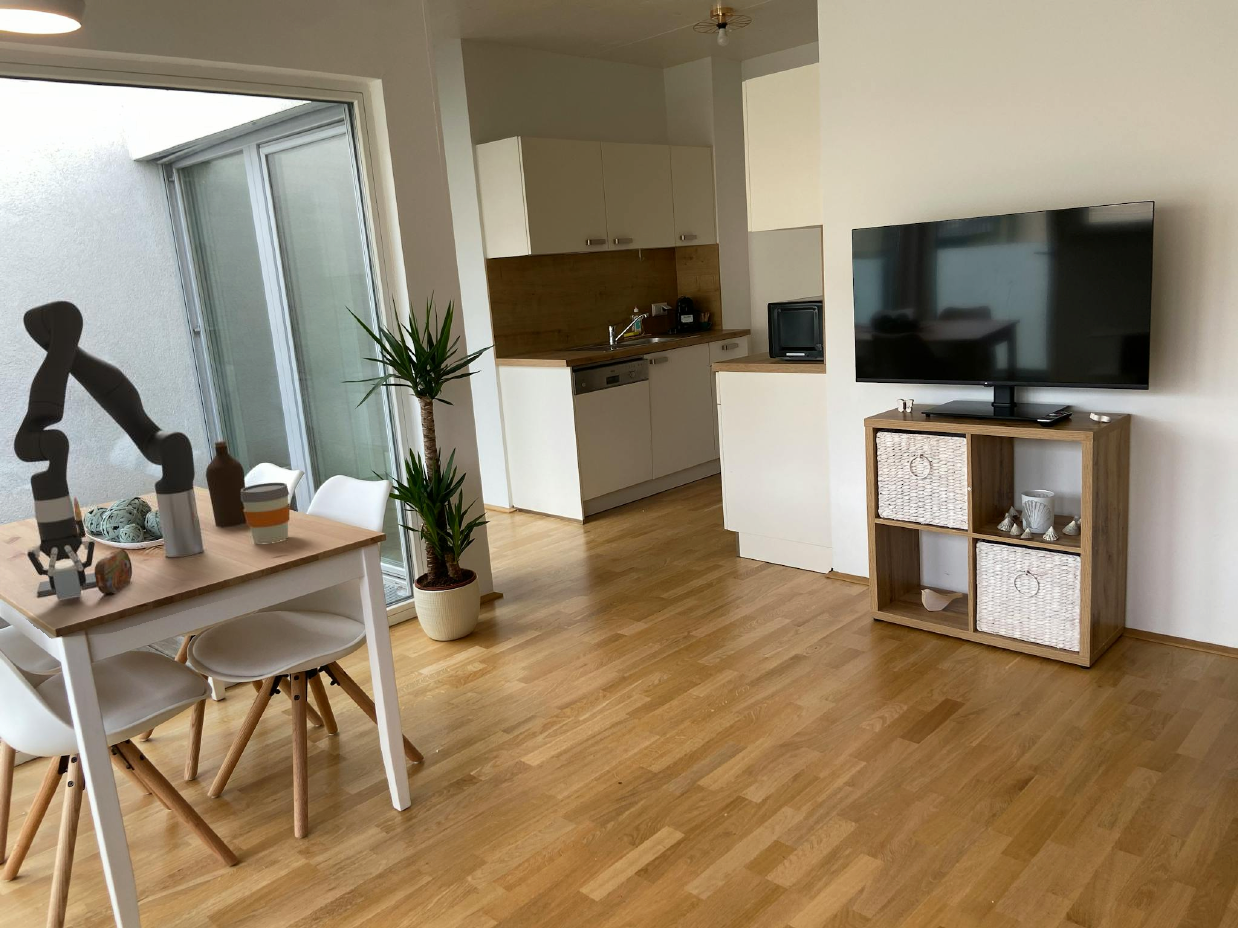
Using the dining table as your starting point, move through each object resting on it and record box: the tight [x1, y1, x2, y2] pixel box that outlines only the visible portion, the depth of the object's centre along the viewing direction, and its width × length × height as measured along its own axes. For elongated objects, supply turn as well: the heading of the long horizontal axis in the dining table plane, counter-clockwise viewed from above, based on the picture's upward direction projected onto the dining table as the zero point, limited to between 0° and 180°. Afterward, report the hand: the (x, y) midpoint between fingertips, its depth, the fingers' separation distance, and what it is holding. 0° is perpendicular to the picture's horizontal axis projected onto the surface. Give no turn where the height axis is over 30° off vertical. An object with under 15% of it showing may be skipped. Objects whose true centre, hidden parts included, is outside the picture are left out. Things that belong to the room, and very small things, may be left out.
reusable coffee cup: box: [241, 482, 290, 544], centre depth 261 cm, size 13×13×15 cm
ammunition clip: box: [73, 497, 87, 538], centre depth 277 cm, size 11×2×12 cm, turn 128°
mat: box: [36, 572, 98, 598], centre depth 229 cm, size 13×9×1 cm
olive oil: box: [205, 440, 247, 527], centre depth 284 cm, size 11×11×25 cm
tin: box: [94, 549, 133, 595], centre depth 225 cm, size 15×3×8 cm, turn 7°
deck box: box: [53, 560, 82, 600], centre depth 217 cm, size 5×10×6 cm, turn 28°
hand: (69, 587), depth 218 cm, fingers closed on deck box, 4 cm apart
